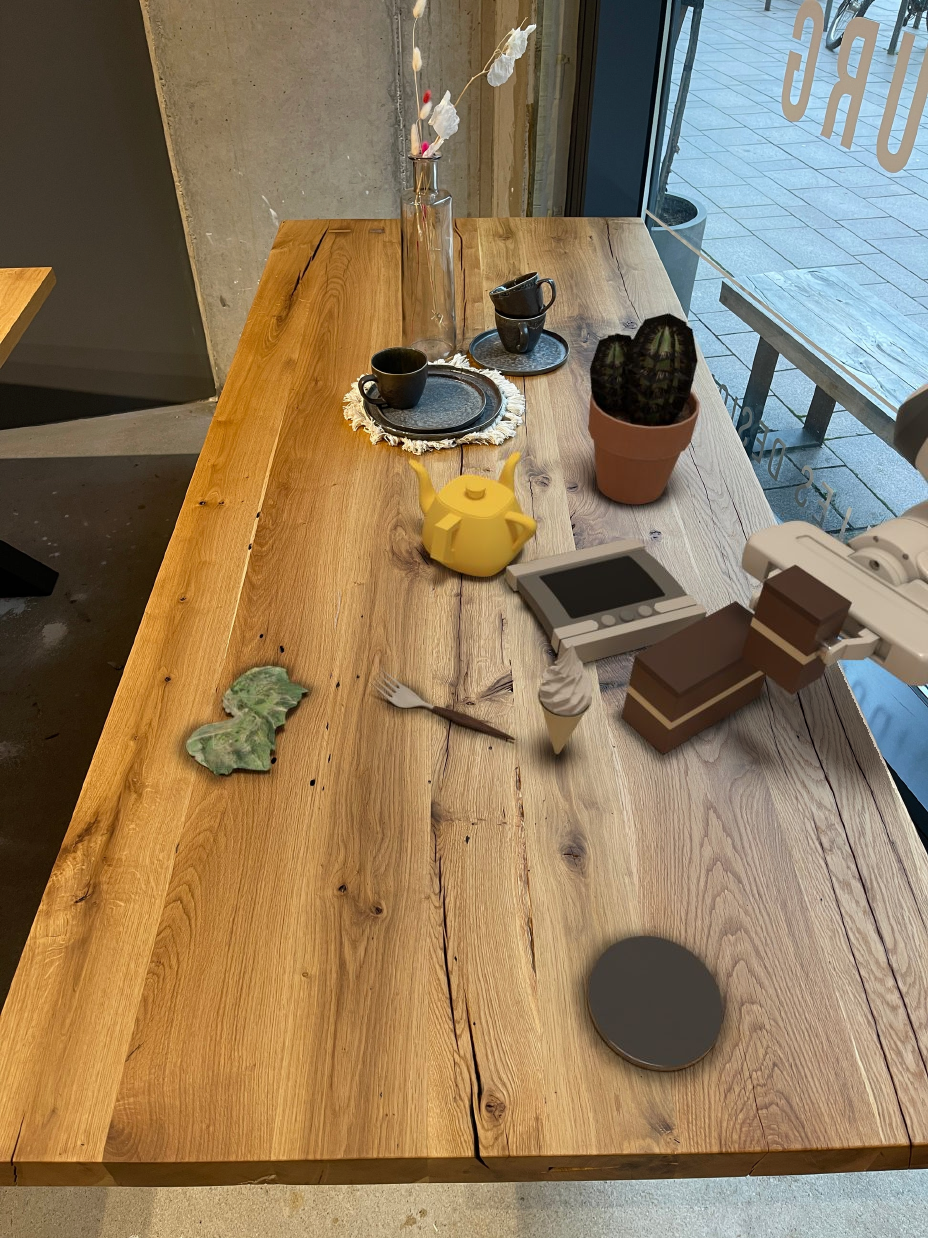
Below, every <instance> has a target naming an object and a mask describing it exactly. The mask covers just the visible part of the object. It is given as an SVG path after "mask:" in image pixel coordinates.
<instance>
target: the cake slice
mask: <svg viewBox="0 0 928 1238" xmlns="http://www.w3.org/2000/svg"><path fill="white" fill-rule="evenodd" d="M760 590H761V593H760V597H759V600H758V603H757V606H756V609H755V612H754V611H753V614H754V615H753V619H752V622H751V625H750V628H749V631H748V634H747V637H746V641H745V644H744V647H743V650H742V653H741V656H742V657H743V658H745V659H746V660H747V661H748V662H750V663H751V664H752V665H754V666H755V667H756V668H757V669H759V670H760V671H761V672H762V673H764V674H765V675H766V677H767V678H769V679H770V680H771V681H772V682H774V683H775V684H776V685H777V686H779V687H780V688H781V689H783V690H784V691H786V692H787V693H788V694H789V695H791V696H794V695H795V694H797V693H799V692H800V691H802V690H803V689H805V688H807V687H809V686H810V685H812V684H813V683H815V682H817V681H818V680H819V679H821V678H822V677H823V675H824V672H825V670H826V668H827V665H826V664H825V663H824V662H822V661H821V660H820V659H818V658H817V657H816V656H815V652H816V651H817V647H818V645H819V644H820V643H821V642H822V641H823V640H827V638H828V637H830V636H832V635H834V636H835V637H837V638H838V639H839V637H838V636H839V633H840V631H841V629H842V626H843V624H844V621H845V619H846V616H847V614H848V612H849V609H850V607H851V604H852V602H851V601H849V600H848V599H846V598H845V597H843V596H842V595H840V594H839V593H837V592H836V591H834V590H833V589H831V588H830V587H828V586H827V585H826V584H824V583H823V582H821V581H820V580H818V579H817V578H815V577H814V576H812V575H811V574H809V573H808V572H806V571H805V570H803V569H802V568H800V567H799V566H797V565H793V566H792V567H790V568H788V569H786V570H784V571H782V572H780V573H778V574H776V575H774V576H773V577H771V578H769V579H767V580H765V581H764V584H763V583H762V588H761V589H760Z"/></svg>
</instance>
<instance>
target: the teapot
mask: <svg viewBox="0 0 928 1238" xmlns="http://www.w3.org/2000/svg"><path fill="white" fill-rule="evenodd" d="M520 458H521V452H520V451H515V452H513V453H512V454H511V455H509V457H508V458H507V459H506V461H505V463H504V466H503V467H502V470H501V473H500V475H499V477H498V480H497V481H496V480H493V479H491V478H489V477H484V476H481V475H476V474H461V475H459V476H456V477H455V478H453V479H451V480H450V481H449V482H448V483H447V484H445V485H444V486H443V487H442V488H441V489H440V490H439V491H438V493H437V492H436V490H435V487H434V485H433V481H432V479H431V476H430V474H429V472H428V469H426V468H425V466H424V465H423V464H422V463H420V462H419V461H417V460H415V459H409V460H408V463H409V466H410V467H411V468H412V470H413V471H414V473H415V475H416V477H417V482H418V503H419V504H418V505H419V508H420V511H421V513H422V515H423V517H424V520H423V525H422V531H421V542H422V545H423V546H424V548H425V550H426V552H428V554H429V556H430V558H431V559H433V560H436V561H437V562H439V563H440V564H442V566H444V567H446V568H448V569H450V570H453V571H455V572H458V573H461V574H465V575H468V576H473V577H481V578H483V577H484V578H485V577H491V576H494V575H496V574H498V573H499V572H501V571H502V570H503V569H504V568H506V567H507V566H509V564H510V563H511V562H512V561H513V560H515V558H516V557H517V556H518V554H519V553H520V552H521V551H522V549H523V547H524V546H525V544H527V542H529V541H530V540H531V539H532V538H533V537H534V536H535V534H536V532H537V529H538V524H537V521H535V519H534V518H533V517H531V516H529V515H526V514H524V512H523V510H522V507H521V505H520V503H519V501H518V498H517V497H516V493H515V491H516V490H515V472H516V471H515V470H516V468H517V465H518V462H519V461H520Z"/></svg>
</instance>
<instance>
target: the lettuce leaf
mask: <svg viewBox="0 0 928 1238" xmlns="http://www.w3.org/2000/svg"><path fill="white" fill-rule="evenodd" d="M289 677H290V676H288V675H287V669H286V668H282V667H280V666H272V665H265V666H260V667H252V668H251V669H249V670H247V672H246V673H244V672H243V673H242V674H241V675H240V677H238V678H237V679H236V680H235V681H234V683H232V685H231V686H230V687H229V688H228V689H227V690H226V691H225V693H224V694H223V696H222V697H221V699H222V700H223V701H222V707H223V708H224V709H225V712H226V713H227V714H228V713H231V715H232V716H233V717H232V718H230V719H228V720H221V721H217V722H212V723H207V724H204V725H202V726H200V727H199V728H197V729H196V730H194V731H193V732H192V734H191V735H190V737H189V738H188V739H187V741H186V744H185V748H186V751H187V752H188V754H189V755H191V757H194V759H195V761H197V762H198V763H199V764H201V765H202V766H205V767H206V768H208V769H209V771H210V772H213V774H214V775H215V777H219V775H220V774H225V775H226V776H227V775H230V773H232V771H233V769H238V768H239V769H246V770H255V771H268V770H270V769H271V768H272V767H271V754H270V753H271V750H273V751H276V750H277V748H278V746H277V744H276V735H275V733H276V732H275V731H276V729H277V727H279V726H281V725H285V724H286V723H287V721H286V714H287V712H288V710H289V709H291V708H293V707H296V706H297V705H298V702H299V701H301V700H302V695H303V693H307V692H308V693H309V690H308V689H307V688H306V687H302V686H301V685H300V684H296V683H293V682H292V681H290V679H289Z"/></svg>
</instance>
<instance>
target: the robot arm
mask: <svg viewBox="0 0 928 1238" xmlns="http://www.w3.org/2000/svg"><path fill="white" fill-rule="evenodd" d="M893 428H894V429H893V443H892V444H893V446H894V447H895V448H896V449H897V450H898V452H900V454H901V455H902V456H903V457H904V458H905V459H906V461H907V462H908V463H909V464H910V465H911V467H912V468H914V470H916V471H918V472H919V475H921V477H922V478H923V479H924V481H925V483H926V484H927V485H928V381H927V382H925V383H924V384H923V385H921V386H920V387H918V388H917V389H916V390H915V391H913V392H912V393H911V394H910V395H909V396H908V397H907V398H905V400H904V401H903V403H902V404H901V405H899V407H898V410H897V413H896V417H895V422H894V427H893ZM793 565H797V566H799V567H800V568H802V569H803V570H805V571H806V572H808V573H809V574H811V575H812V576H814V577H815V578H817V579H818V580H820V581H821V582H823V583H824V584H826V585H827V586H828V587H830V588H831V589H833V590H834V591H836V592H837V593H839V594H840V595H842V596H843V597H845V598H846V599H848V600H849V601H851V602H852V604H851V607H850V609H849V612H848V614H847V616H846V619H845V621H844V624H843V626H842V629H841V631H840V633H839V636H838V638H837V637H835V636H834V635H832V636H830V637H828V638H827V640H823V641H822V642H821V643H820V644H819V645H818V647H817V651H816V652H815V656H816V657H817V658H818V659H820V660H821V661H822V662H824V663H825V664H826V666H827V667H830V666H831V665H834V664H835V663H837V662H838V661H840V660H841V661H864V660H866V659H869V660H870V661H872V662H873V663H874V664H877V666H879V667H881V668H882V669H884V670H885V671H886V672H887V673H889V674H890V675H892V676H893V677H895V678H896V679H898V680H899V681H901V683H903V684H904V685H906V686H911V687H925V686H926V685H928V498H927V499H925V500H923V501H921V502H919V503H917V504H914V505H913V506H911V507H909V508H908V509H907V510H905V511H904V512H903V513H901V515H900V516H898V517H897V516H896V517H893V518H890V519H887V520H885V521H883V522H881V523H879V524H877V525H875V526H873V527H872V528H870V529H868V530H866V531H863V532H862V533H860V534H859V535H856V536H854V537H853V538H851V539H849V540H848V541H847V542H846V543H844V542H843V541H841V540H840V539H838V538H837V537H834V536H832V535H831V534H829V533H828V532H826V531H824V530H823V529H822V528H821V527H819V526H817V525H815V524H812V523H809V522H807V521H803V520H791V521H786V522H782V523H778V524H776V525H772V526H769V527H766V528H763V529H760V530H758V531H756V532H754V533H752V534H750V535H749V537H748V538H747V540H746V542H745V545H744V547H743V551H742V556H741V569H742V570H743V571H744V572H746V573H747V574H749V575H750V576H751V577H752V578H754V579H755V580H756V581H758V582H760V583H761V584H762V585H763V584H764V581H765V580H767V579H769V578H771V577H773V576H774V575H776V574H778V573H780V572H782V571H784V570H786V569H788V568H790V567H792V566H793ZM761 590H762V589H760V590H757V591H756V592H754V594H752V596H751V598H750V601H749V604H748V609H750V611H752V612H753V613H754V612H755V609H756V606H757V603H758V600H759V597H760V593H761Z"/></svg>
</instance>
